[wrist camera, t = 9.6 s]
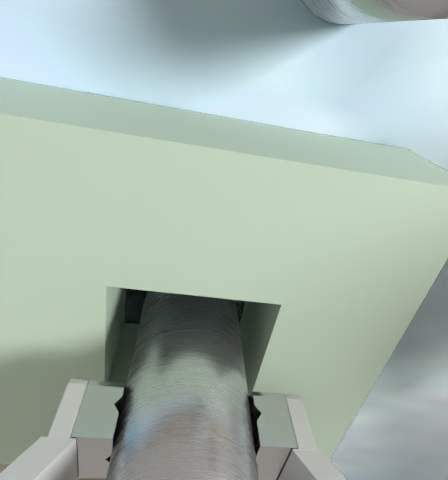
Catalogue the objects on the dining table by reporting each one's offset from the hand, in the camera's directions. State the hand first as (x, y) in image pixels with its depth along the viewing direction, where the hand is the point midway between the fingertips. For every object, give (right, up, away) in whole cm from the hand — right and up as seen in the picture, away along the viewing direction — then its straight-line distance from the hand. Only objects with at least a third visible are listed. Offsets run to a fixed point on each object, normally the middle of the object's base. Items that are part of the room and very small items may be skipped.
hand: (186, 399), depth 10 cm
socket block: (0, +3, +5) cm, 6 cm away
